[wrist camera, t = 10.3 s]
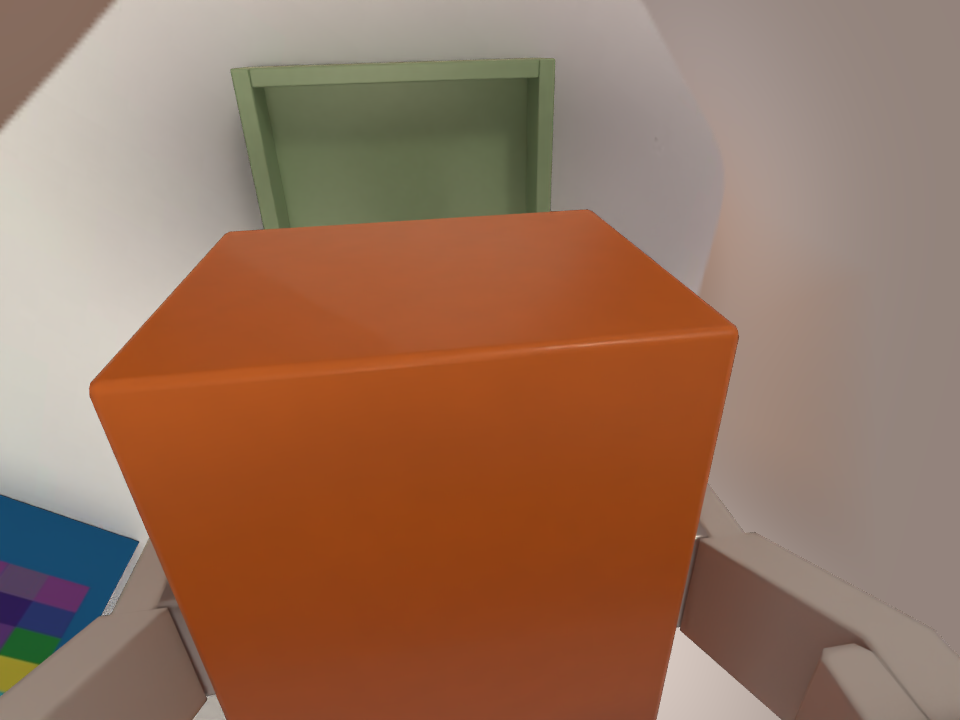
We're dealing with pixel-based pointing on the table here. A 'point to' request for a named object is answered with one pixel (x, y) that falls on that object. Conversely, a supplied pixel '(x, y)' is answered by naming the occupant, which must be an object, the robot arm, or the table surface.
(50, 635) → the box
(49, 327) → the table surface
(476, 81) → the tray
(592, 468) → the block
